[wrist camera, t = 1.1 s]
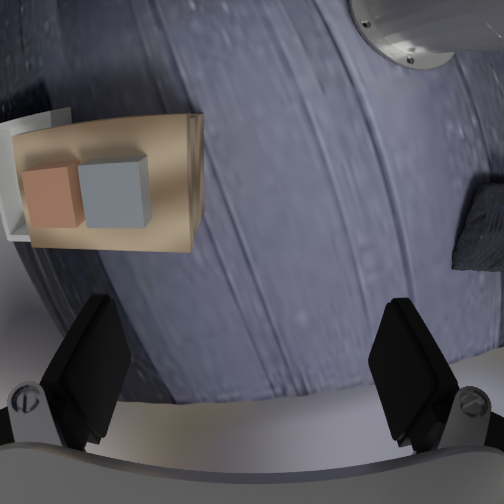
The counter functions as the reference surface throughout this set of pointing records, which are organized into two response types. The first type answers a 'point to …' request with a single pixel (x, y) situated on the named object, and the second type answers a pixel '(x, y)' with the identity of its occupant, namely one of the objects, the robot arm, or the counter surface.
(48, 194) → the terracotta tile
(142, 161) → the slate tile
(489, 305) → the counter surface
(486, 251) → the black flat block
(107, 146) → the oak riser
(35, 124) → the tray
